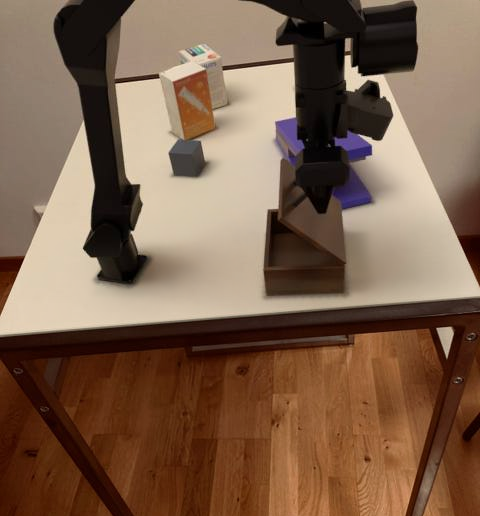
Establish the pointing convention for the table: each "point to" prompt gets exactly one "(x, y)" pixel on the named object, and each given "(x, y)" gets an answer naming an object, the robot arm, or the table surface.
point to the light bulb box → (208, 71)
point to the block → (187, 157)
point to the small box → (188, 100)
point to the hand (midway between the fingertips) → (321, 193)
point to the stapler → (353, 144)
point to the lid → (310, 216)
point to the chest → (297, 263)
